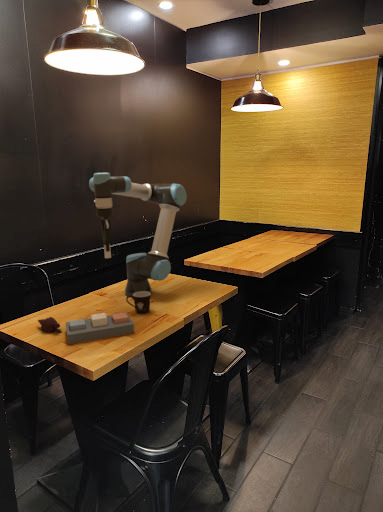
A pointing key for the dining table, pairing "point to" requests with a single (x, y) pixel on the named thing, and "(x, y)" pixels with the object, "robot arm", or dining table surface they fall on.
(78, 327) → the slate key
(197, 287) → the dining table surface
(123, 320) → the terracotta key
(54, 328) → the dark brown irregular piece
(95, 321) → the white key
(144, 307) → the coffee mug
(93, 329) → the key panel
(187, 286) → the dining table surface
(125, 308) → the dining table surface
